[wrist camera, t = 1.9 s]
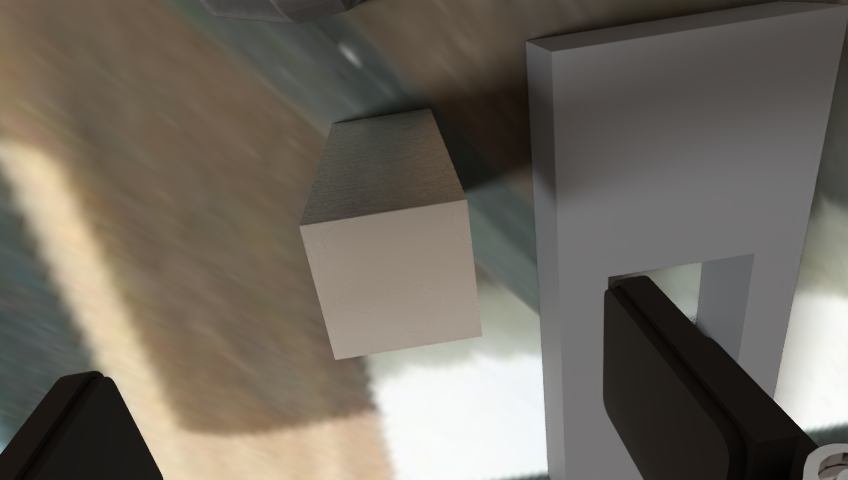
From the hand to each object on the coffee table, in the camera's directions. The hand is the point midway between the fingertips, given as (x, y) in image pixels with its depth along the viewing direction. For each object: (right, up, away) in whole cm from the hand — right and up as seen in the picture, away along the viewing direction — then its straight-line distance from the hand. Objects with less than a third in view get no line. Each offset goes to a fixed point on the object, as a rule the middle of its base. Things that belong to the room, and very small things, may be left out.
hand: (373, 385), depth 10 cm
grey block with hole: (+11, +1, +16) cm, 20 cm away
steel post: (-1, +6, +12) cm, 14 cm away
